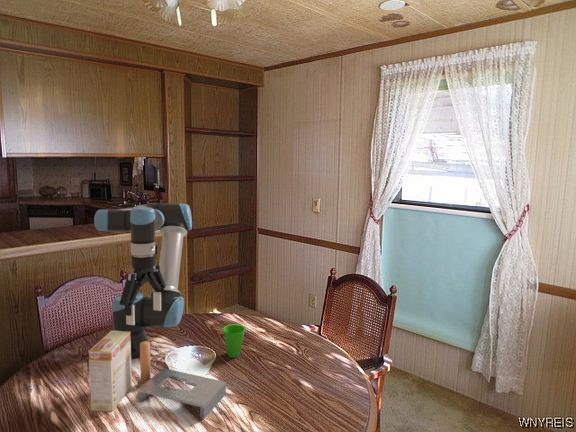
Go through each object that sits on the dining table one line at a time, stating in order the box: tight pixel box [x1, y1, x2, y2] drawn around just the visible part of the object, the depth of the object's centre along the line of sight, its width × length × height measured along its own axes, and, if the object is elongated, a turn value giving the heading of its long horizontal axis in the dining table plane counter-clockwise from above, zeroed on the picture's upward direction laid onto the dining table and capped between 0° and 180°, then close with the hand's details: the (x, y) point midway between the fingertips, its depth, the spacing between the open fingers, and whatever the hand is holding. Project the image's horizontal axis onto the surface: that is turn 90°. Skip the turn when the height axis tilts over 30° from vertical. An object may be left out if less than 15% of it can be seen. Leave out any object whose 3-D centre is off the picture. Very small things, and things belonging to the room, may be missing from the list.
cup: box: [222, 323, 247, 359], centre depth 161 cm, size 9×9×11 cm
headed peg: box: [137, 340, 152, 389], centre depth 138 cm, size 5×5×15 cm
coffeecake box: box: [88, 330, 133, 413], centre depth 130 cm, size 15×7×20 cm, turn 178°
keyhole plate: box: [136, 367, 227, 420], centre depth 131 cm, size 24×14×4 cm, turn 71°
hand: (144, 317), depth 135 cm, fingers open, 13 cm apart
